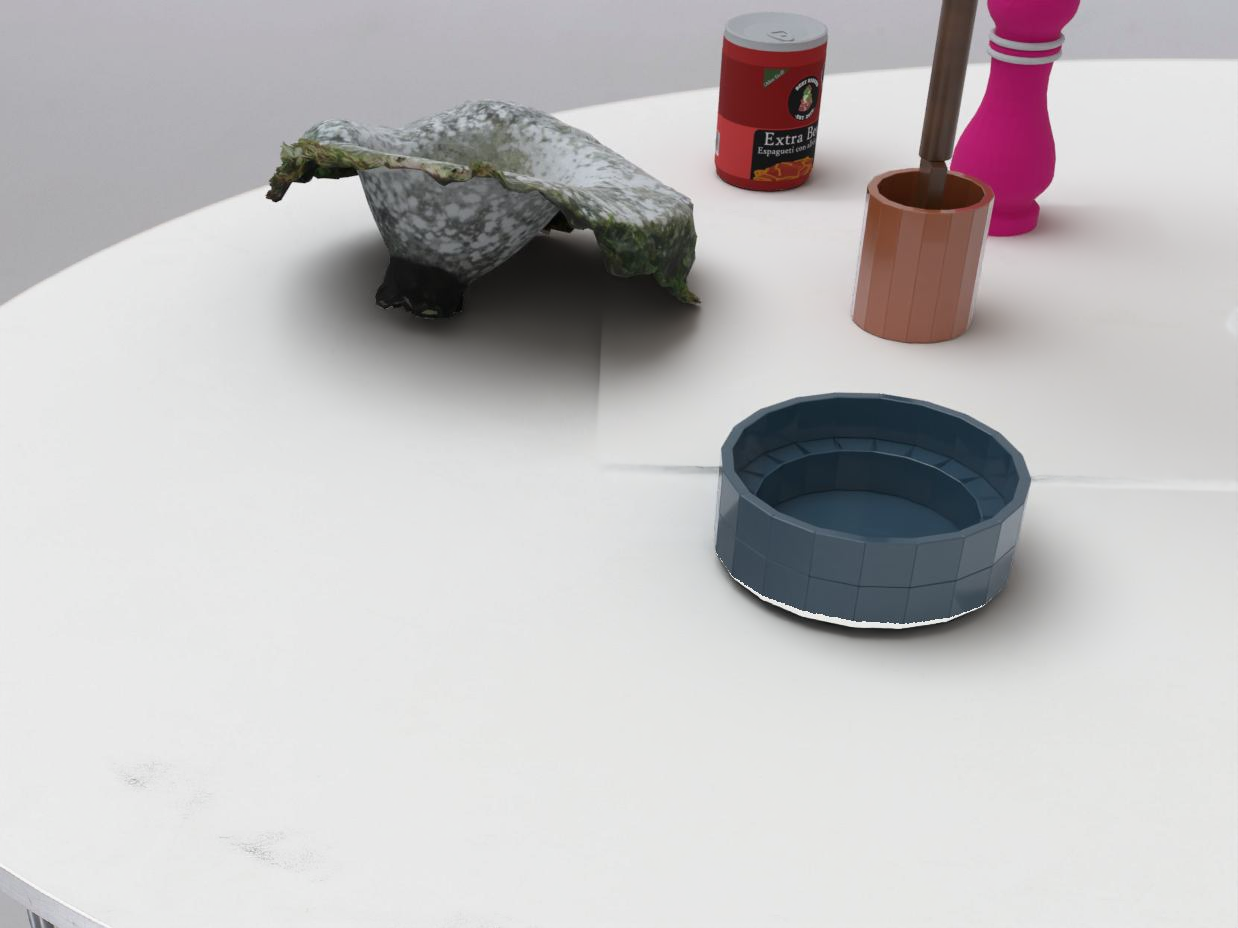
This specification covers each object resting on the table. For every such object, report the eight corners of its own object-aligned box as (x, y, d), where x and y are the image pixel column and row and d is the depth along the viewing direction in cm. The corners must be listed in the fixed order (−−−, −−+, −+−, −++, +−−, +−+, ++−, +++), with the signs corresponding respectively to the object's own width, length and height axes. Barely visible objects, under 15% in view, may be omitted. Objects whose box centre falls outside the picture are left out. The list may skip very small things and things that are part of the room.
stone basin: (226, 300, 94) (243, 17, 90) (278, 300, 122) (292, 85, 119) (732, 354, 95) (770, 77, 91) (666, 341, 124) (693, 130, 120)
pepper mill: (1024, 254, 116) (1086, -52, 104) (926, 234, 119) (974, -66, 107) (1055, 220, 121) (1117, -77, 108) (959, 201, 124) (1010, -89, 111)
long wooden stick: (931, 238, 106) (1001, -184, 91) (940, 263, 103) (1013, -169, 88) (900, 237, 106) (964, -184, 91) (908, 263, 103) (975, -169, 88)
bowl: (983, 485, 92) (1001, 395, 88) (1033, 644, 80) (1056, 548, 76) (709, 478, 93) (716, 388, 89) (718, 634, 81) (727, 538, 77)
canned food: (758, 200, 125) (772, 48, 118) (692, 169, 130) (701, 22, 123) (834, 178, 128) (852, 30, 121) (766, 149, 133) (779, 5, 126)
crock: (959, 302, 110) (983, 168, 105) (977, 353, 104) (1003, 214, 99) (844, 300, 111) (862, 166, 105) (856, 350, 105) (875, 212, 99)
